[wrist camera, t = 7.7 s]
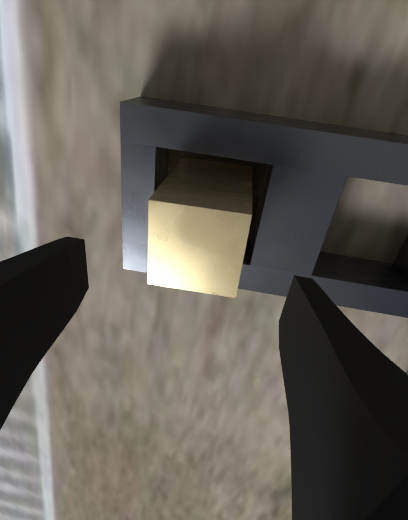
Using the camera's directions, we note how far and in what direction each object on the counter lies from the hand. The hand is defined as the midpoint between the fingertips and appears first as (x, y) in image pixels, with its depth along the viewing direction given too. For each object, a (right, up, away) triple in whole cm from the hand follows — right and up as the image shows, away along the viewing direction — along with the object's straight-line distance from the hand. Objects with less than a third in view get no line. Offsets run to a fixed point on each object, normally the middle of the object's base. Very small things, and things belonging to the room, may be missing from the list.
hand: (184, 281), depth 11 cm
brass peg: (+1, +5, +8) cm, 9 cm away
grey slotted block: (+6, +4, +8) cm, 10 cm away
